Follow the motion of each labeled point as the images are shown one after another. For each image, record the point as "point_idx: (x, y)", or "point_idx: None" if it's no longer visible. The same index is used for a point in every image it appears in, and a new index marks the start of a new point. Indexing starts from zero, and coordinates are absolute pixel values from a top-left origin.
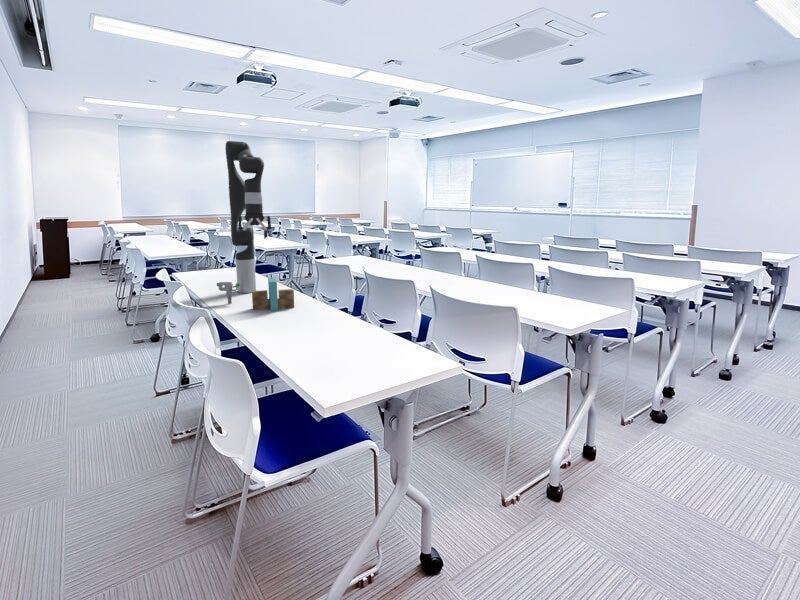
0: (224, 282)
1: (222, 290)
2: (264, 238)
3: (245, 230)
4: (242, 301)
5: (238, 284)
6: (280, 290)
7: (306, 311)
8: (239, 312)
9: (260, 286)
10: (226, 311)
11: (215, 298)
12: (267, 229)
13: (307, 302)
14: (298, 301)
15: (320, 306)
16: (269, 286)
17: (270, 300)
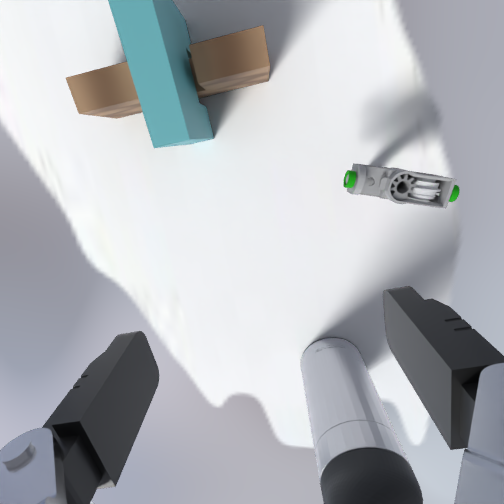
0: (424, 203)
1: (418, 172)
2: (139, 331)
3: (469, 388)
4: (326, 211)
5: (351, 172)
6: (129, 74)
7: (39, 10)
8: (311, 2)
9: (296, 428)
10: (367, 26)
11: (429, 265)
12: (4, 465)
13: (81, 181)
14: (119, 200)
15: (11, 107)
16: (164, 19)
17: (173, 3)
